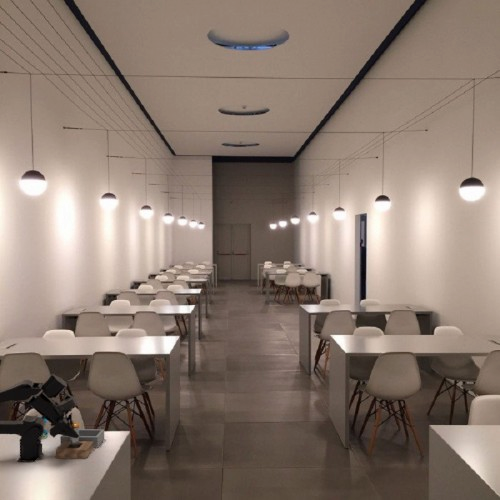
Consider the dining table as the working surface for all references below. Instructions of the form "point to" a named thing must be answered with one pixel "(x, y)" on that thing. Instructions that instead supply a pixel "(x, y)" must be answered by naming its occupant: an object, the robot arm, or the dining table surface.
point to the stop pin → (74, 441)
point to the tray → (88, 436)
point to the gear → (44, 429)
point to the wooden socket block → (74, 450)
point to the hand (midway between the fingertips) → (78, 435)
